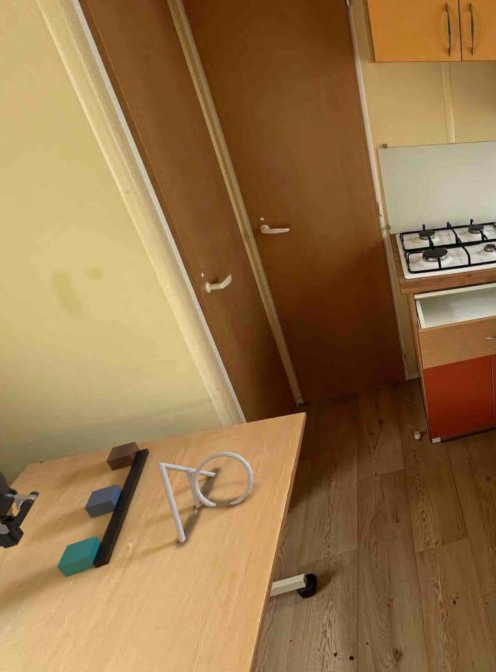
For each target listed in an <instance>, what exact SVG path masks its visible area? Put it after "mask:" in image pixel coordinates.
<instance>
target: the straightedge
mask: <svg viewBox="0 0 496 672" xmlns="http://www.w3.org/2000/svg"><path fill="white" fill-rule="evenodd" d="M149 454H150V451H149V449H148V448H143V449H140V450H139V451H137V453H136V456H135V458H134V461H133V463H132V465H131V466H130V468H129V471H128V474H127V476H126V479H125V481H124V484H123V486H122V488H121V490H122V491H121V494H120V496H119V499H118V501H117V504H116V506H115V509H114V511H113V512H112V514H111V516H110V519H109V522H108V525H107V527H106V530H105V532H104V534H103V537H102V540H101V541H100V542H101V544H100V547H99V549H98V552H97V554H96V557H95V559H94V562H93V565H94V568H95V569H97V568H100V567H103V566H106V565H109V564H110V561H111V558H112V556H113V553H114V550H115V547H116V545H117V542H118V539H119V536H120V534H121V531H122V528H123V525H124V523H125V520H126V517H127V514H128V511H129V509H130V506H131V504H132V500H133V499H134V496H135V492H136V490H137V487H138V484H139V481H140V479H141V476H142V473H143V470H144V468H145V465H146V462H147V459H148V457H149Z"/></svg>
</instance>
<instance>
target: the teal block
mask: <svg viewBox="0 0 496 672" xmlns="http://www.w3.org/2000/svg"><path fill="white" fill-rule="evenodd" d="M101 542H102V541H101V540H100V539H99V537H98V536H97V535H95V536H92V537H89V538H85V539H83V540H79V541H77V542H74V543H69V544H67V545H66V546H65V549H64V551H63V553H62V555H61V557H60V560H59V562H58V564H57V566H56V568H57V569H58V570H59V571H60V573H61V574H62V575H63V576H64V577H65V578H68V577H71V576H73V575H76V574H80V573H82V572H85V571H88V570H91V569H94V568H95V567H94V565H93V562H94V559H95V557H96V554H97V552H98V549H99V547H100V544H101Z"/></svg>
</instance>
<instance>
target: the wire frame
mask: <svg viewBox="0 0 496 672" xmlns="http://www.w3.org/2000/svg"><path fill="white" fill-rule="evenodd" d="M221 457H228V458H231V459H234V460H236V461H237V462H239V463H240V464H241V465H242V466H243V467H244V469H245V471H246V475H247V485H246V487H245V489H244V491H243V493H242V494H241V495H240V496H239V497H238V498H237V499H236V500H234V501H232V502H230V505H238V504H240V503H242V502H243V501H244V500H245V499H246V498H247V496H248V495H249V494H250V491H251V489H252V486H253V482H254V475H253V470H252V466H251V465H250V464H249V462H248V461H247V460H246V459H245V458H244V457H242V456H241V455H240V454H238V453H235V452H231V451H219V452H215V453H212V454H210V455H208V456H206V457H205V458H204V459H202V460H201V461H200V463H199V464H198V465H197V466H196V468H193V467H187V466H181V465H177V464H173V463H167V462H162V461H161V462H160V461H159V463H158V464H157V467H158V471H159V473H160V477H161V480H162V481H161V482H162V484H163V487H164V491H165V494H166V495H165V496H166V499H167V502H168V506H169V509H170V512H171V516H172V519H173V523H174V526H175V530H176V533H177V537H178V540H179V543H183V542H185V540H186V535H185V532H184V527H183V525H182V521H181V518H180V514H179V511H178V506H177V503H176V500H175V497H174V493H173V489H172V486H171V483H170V479H169V476H168V471H167V470H169V471H170V470H171V471H177V472H182V473H185V474H186V478H187V481H188V485H189V487H190V491H191V494H192V495H191V496H192V498H193V502H194V505H195V508H196V509H199V508H200V507H201V506H202V504H203V505H204V506H206V507H209V508H210V507H211V508H212V507H215V506H216V505H217V503H216V502H212V501H210V500H209V499H207V498H206V497H205V496H204V494H203V493H202V492H201V490H200V486H199V476H204V477H209V478H213V477H215V475H216V472H213V471H209V470H208V471H207V470H203V468H204V467H205V465H206V464H208V463H209V462H210V461H212V460H214V459H217V458H221Z"/></svg>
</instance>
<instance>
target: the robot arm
mask: <svg viewBox="0 0 496 672" xmlns="http://www.w3.org/2000/svg"><path fill="white" fill-rule="evenodd" d="M39 495H40V492H39V491H37V490H36V491H31V492H30V493H29V494H21V493H19V492H18V491H17V489H14V488H11V487H10V486H9V485H8V480H7V477H6V476H5V474H3V472H2V471H1V470H0V547H2V548H3V549H5V550H6V549H9V548H12V547H15V546H18V544H20V541H21V540H22V538H23V537H24V535H25V532H24V531H23V530H22V529H21V526H22V524H23V523H24V521H25V519H26V517H27V516H28V514H29V512H30V511H31V509H32V507H33V506H34V504H35V502H36V500H37V499H38V497H39ZM14 503H15V507H16V510H18V512H17V514H16V515H15V514H14V513H13V512H14V508H13V505H14Z"/></svg>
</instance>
